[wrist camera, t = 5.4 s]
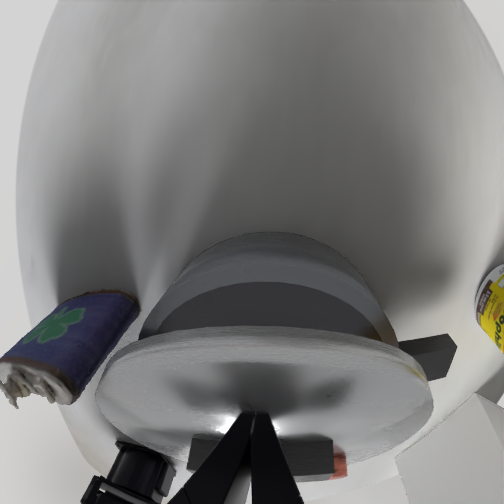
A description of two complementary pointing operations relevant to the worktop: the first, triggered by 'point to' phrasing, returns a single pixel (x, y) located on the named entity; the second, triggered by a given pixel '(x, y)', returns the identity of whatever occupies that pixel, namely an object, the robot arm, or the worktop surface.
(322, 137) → the worktop surface
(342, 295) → the cooker pot
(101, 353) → the flask
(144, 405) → the cooker lid
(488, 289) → the supplement bottle
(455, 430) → the milk
